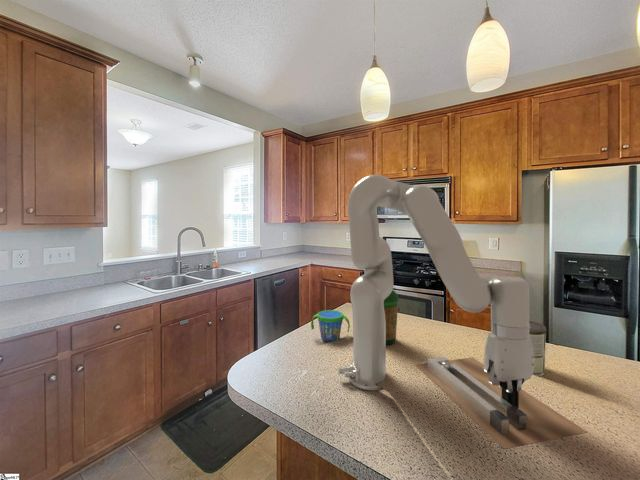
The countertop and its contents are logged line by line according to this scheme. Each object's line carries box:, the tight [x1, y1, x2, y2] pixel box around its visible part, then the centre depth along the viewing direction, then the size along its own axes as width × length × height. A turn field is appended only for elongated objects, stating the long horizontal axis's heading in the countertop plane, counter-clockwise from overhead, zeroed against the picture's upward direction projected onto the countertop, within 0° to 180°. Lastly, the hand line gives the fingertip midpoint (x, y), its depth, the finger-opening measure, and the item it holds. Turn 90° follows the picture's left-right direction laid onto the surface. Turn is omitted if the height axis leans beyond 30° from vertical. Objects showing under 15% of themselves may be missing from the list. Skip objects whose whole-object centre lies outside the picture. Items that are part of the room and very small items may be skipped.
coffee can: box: [529, 320, 548, 377], centre depth 89 cm, size 10×10×14 cm
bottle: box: [384, 290, 399, 347], centre depth 107 cm, size 11×11×28 cm
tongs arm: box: [441, 361, 527, 430], centre depth 73 cm, size 25×4×3 cm, turn 12°
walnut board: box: [415, 357, 588, 450], centre depth 75 cm, size 21×34×2 cm, turn 11°
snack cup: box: [310, 309, 351, 342], centre depth 114 cm, size 16×10×10 cm
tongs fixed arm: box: [427, 356, 509, 434], centre depth 74 cm, size 28×6×3 cm, turn 11°
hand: (509, 405), depth 67 cm, fingers closed
